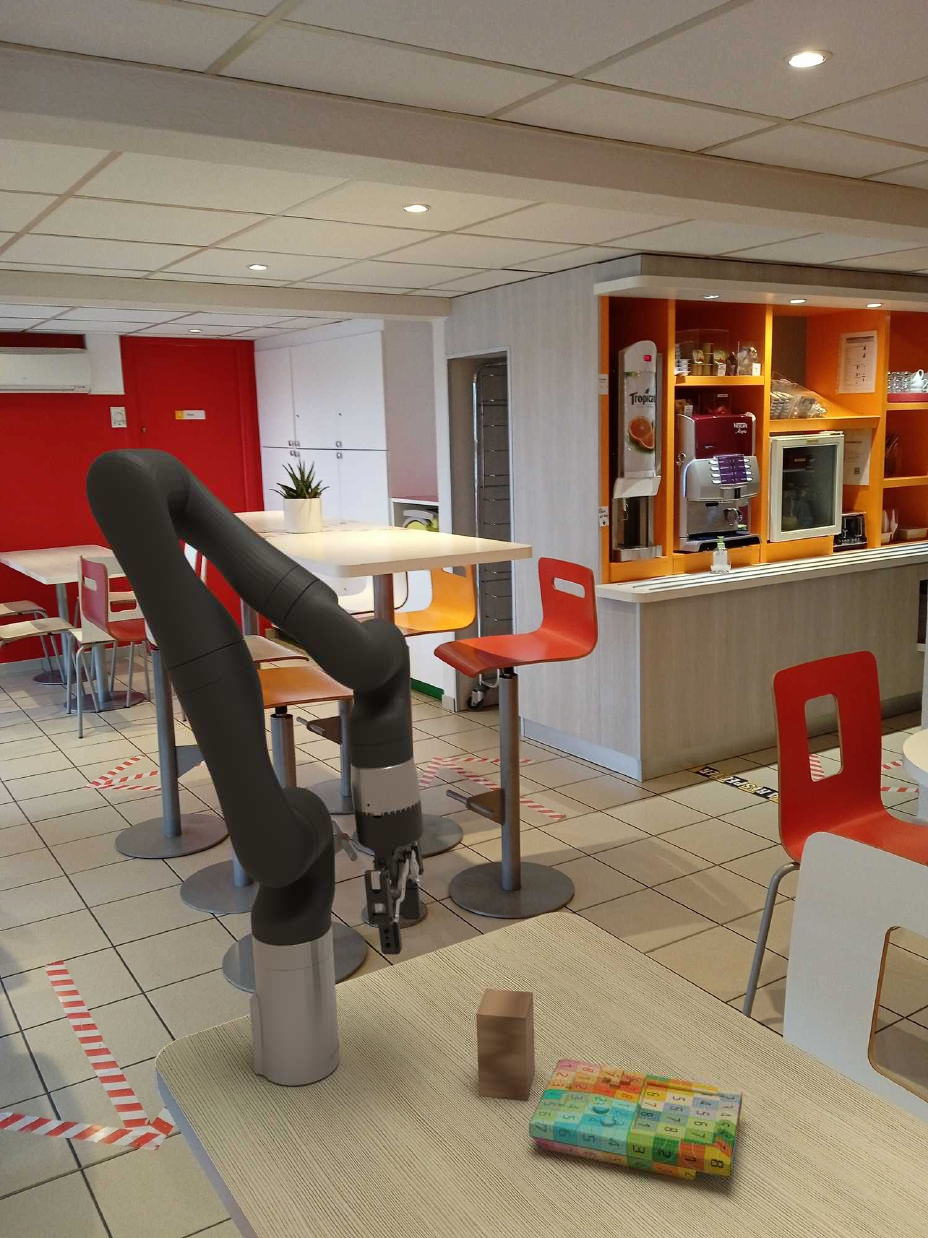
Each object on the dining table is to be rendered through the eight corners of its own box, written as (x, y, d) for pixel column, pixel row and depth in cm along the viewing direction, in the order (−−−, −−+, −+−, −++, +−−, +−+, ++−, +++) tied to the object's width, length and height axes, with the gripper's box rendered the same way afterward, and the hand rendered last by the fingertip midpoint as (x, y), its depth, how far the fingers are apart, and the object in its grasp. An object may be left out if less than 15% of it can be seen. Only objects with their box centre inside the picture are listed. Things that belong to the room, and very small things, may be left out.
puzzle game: (558, 1052, 116) (742, 1084, 109) (559, 1090, 116) (742, 1125, 109) (528, 1116, 105) (731, 1156, 98) (530, 1157, 105) (730, 1200, 99)
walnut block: (479, 1096, 115) (476, 1014, 114) (488, 1068, 121) (485, 988, 119) (527, 1101, 114) (525, 1018, 113) (535, 1072, 119) (532, 992, 118)
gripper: (373, 779, 123) (388, 908, 125) (333, 822, 109) (351, 965, 111) (434, 777, 121) (448, 908, 123) (401, 820, 107) (418, 966, 110)
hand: (402, 935), depth 117 cm, fingers open, 8 cm apart
